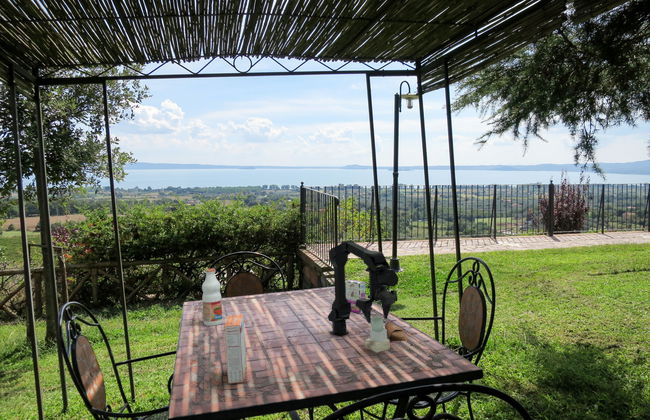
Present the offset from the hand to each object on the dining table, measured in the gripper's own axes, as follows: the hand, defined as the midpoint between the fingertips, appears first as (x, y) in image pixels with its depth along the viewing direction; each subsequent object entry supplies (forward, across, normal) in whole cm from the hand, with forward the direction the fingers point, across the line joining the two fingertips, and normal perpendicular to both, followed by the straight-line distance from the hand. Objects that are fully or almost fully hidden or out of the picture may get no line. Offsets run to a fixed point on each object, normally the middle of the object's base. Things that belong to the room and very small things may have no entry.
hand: (377, 321), depth 197 cm
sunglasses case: (+12, +18, +8) cm, 23 cm away
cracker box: (+12, -57, +14) cm, 60 cm away
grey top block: (+8, 0, 0) cm, 8 cm away
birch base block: (+12, 0, 0) cm, 12 cm away
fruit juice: (+12, -35, +85) cm, 93 cm away
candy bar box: (+12, +31, +50) cm, 60 cm away
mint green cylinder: (+4, 0, 0) cm, 4 cm away
